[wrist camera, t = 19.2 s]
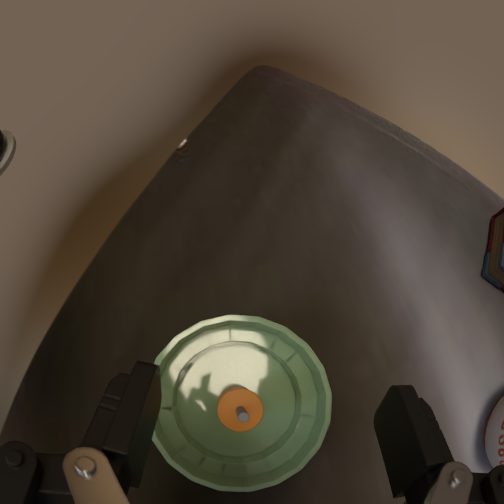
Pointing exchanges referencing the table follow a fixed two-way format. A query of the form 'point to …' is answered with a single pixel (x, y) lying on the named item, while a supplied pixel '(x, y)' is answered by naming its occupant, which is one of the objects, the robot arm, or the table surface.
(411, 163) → the table surface
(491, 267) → the decorative book
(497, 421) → the patterned ceramic vase
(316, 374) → the green round bowl
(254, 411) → the screwdriver
